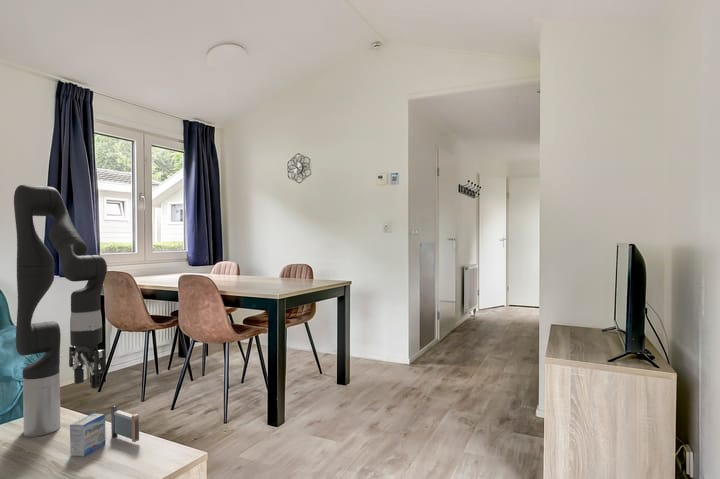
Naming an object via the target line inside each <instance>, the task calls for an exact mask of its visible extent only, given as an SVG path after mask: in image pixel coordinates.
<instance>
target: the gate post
mask: <svg viewBox="0 0 720 479" xmlns="http://www.w3.org/2000/svg"><path fill="white" fill-rule="evenodd" d="M115 411H118V405H111V407H110V415H111V416H110V420H111V422H110V423H111V424H110V425H111V427H110V428H111V438H112V439H113V438H114V439H115V438H117V437H118V436H119V434H116V433H115V415H114V412H115Z"/></svg>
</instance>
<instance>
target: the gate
mask: <svg viewBox="0 0 720 479" xmlns="http://www.w3.org/2000/svg"><path fill="white" fill-rule="evenodd" d="M114 415H115V433H116V434H118V436H122V437H125V438H127V439H130V440H131V442H133V443H136V442H138V441H140V414H139V413H135V414H132V413H129V412H126V411H123V410H120V409H119V410H118V409H117V411H115V412H114Z"/></svg>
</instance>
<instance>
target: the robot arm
mask: <svg viewBox="0 0 720 479" xmlns="http://www.w3.org/2000/svg"><path fill="white" fill-rule="evenodd" d="M13 208H14V209H13V210H14V211H13V212H14V219H15V220H14V221H15V230H16V288H17V290H16V291H17V312H16V324H15V326H16V328H15V349H16V351H17V354H18V355H20V356H22V357H23V356H29V355H36V354H43V353H44V354H43V355H42V357H39V359H37V360H35V362H32V363H30V364H27V365H26V366H25V367H24V368H23V370H22V400H23V401H22V402H23V404H22V406H23V407H22V409H23V435H24V436H25V437H31V438H33V437H40V436H46V435H48V434H52V433H54V432H56V431H58V430H59V429H60V428H61V381H60V380H61V379H60V377H61V376H60V364H61V362H60V361H61V355H60V354H61V341H62V340H61V336H62V335H61V327H60V325H59V323H58V322H57V321H54V320H53V321H51V320H50V321H41V322H35V323H32V320H33V316H34V313H35V311H36V309H37V307H38V305H39V303H40V302H41V300H42V299H43V297H45V295H46V294H47V292H48V291H49V289H50V288H51V286H52V285H53V282H54V280H55V259H54V256H53V254H52V252H51V251H50V249H49V248H48V247H47V246H46V244H45V243H44V242H43V240H42V239H41V238H40V237H39V235H38V232H37V230H36V228H35V223H34V217H50V218H52V219H53V224H52V226H51V228H50V231H49V240H50V242H51V245H52V246H53V248H54V249H55V250H56V252H57V254H58V256H59V259H60V260H59V261H60V264H61V273H62V275H63V277H64V278H65V279H66V280H68V281H70V282H73V283H74V282H84V281H85V282H87V283H86V285H85V286H83V288H80V289H77V290H74V291H72V293H71V294H70V319H69V327H70V328H69V329H70V330H69V331H70V332H69V334H70V335H69V337H70V342H69V343H70V346H69V348H68V358H69V359H68V366H69V368H72V370H73V372H74V374H73V378H74V380H73V381H74V384H77V385H78V384H81V383H83V382H84V381H85V371H84V370H85V369H84V367H86V369H88V370H89V372H90V374H91V375H90V387H91V389H98V388H101V385H102V384H101V377H102V376H101V374H103V373H104V372H106V371H107V366H106V365H107V363H106V361H107V360H106V350H105V349H99V348H98V345H99V344H101V343H102V342H103V321H102V320H103V319H102V311H101V310H102V309H101V293H102V290H103V286H104V283H105V279H106V277H107V273H108V265H107V261H106V260H105V258H104V257H103V256H101V255H98V254H93V255H89V254H87V252H88V246H87V244H86V242H85V241H84V240H83V238H82V237H81V235H80V234H79V232H78V231H77V229H76V228H75V226H74V224H73V222H72V219H71V216H70V214H69V211H68V209H67V206H66V203H65V201H64V199H63V197H62V195H61V193H60V192H59V191H58V189H56V188H55V187H53V186H46V185H32V184H20V185H18V186H17V187H16V188H15V190H14V194H13Z"/></svg>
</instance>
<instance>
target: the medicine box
mask: <svg viewBox="0 0 720 479" xmlns="http://www.w3.org/2000/svg"><path fill="white" fill-rule="evenodd" d="M106 438H107V435H106V414H104V413H91V414H89V415H88V416H85V417H83V418H81V419H79V420H77V421H75V422H73V423H71V424H69V440H70V441H69V443H70V444H69V446H70V447H69V448H70V450H69V451H70V453H69V454H70V456H73V457H86V456H88V455H89V454H91V453H93V452H94V451H96V450H97V449H99V448H100V447H102V446H104V445H105V444H106V442H107V441H106Z"/></svg>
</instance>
